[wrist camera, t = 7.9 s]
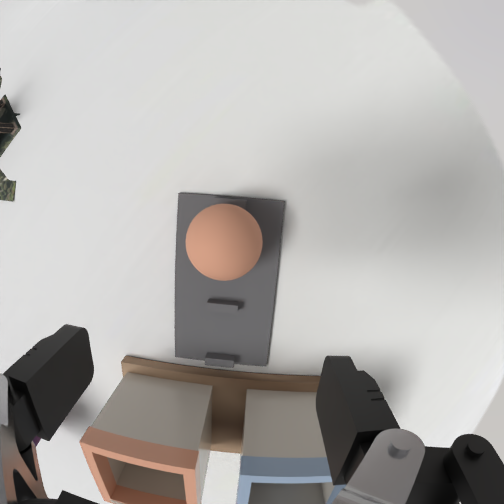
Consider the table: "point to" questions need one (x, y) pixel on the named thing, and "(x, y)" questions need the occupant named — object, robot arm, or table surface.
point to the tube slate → (283, 451)
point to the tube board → (223, 393)
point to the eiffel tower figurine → (7, 143)
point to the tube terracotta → (151, 442)
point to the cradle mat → (226, 291)
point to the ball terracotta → (224, 242)
